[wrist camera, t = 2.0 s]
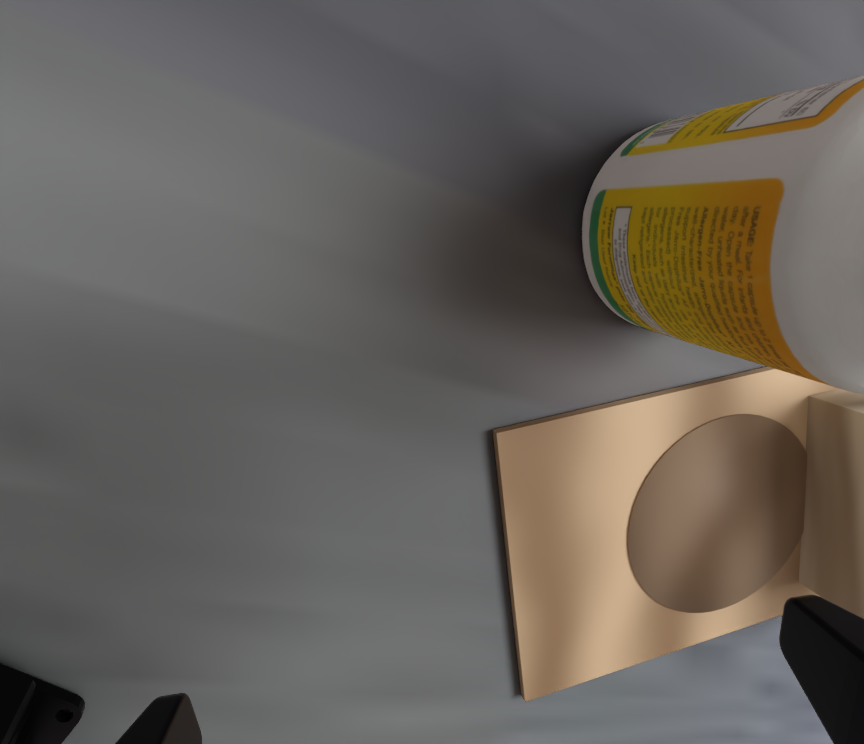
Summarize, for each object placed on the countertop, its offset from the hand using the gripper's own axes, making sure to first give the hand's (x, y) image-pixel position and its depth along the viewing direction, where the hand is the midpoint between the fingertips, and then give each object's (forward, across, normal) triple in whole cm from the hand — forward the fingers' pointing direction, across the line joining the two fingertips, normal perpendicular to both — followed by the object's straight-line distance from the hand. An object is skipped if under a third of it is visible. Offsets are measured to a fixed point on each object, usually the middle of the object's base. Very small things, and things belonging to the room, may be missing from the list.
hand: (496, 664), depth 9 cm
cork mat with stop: (+13, -10, +9) cm, 19 cm away
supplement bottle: (+14, -9, -3) cm, 18 cm away
